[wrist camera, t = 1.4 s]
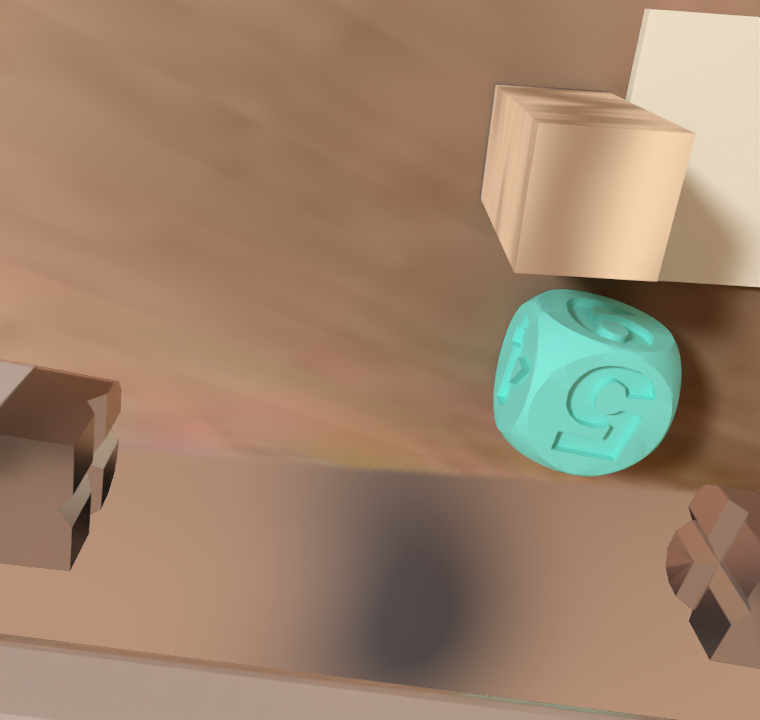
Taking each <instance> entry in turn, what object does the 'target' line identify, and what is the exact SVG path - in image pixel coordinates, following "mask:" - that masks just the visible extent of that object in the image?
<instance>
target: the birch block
mask: <svg viewBox="0 0 760 720" xmlns="http://www.w3.org/2000/svg"><path fill="white" fill-rule="evenodd" d="M695 135H696V134H695V133H693V132H691V131H689V130H687V129H685V128H683V127H681V126H679V125H677V124H675V123H672V122H670V121H668V120H666V119H664V118H662V117H660V116H658V115H656V114H654V113H652V112H649V111H647V110H645V109H643V108H641V107H639V106H637V105H635V104H633V103H631V102H628V101H626V100H624V99H622V98H620V97H618V96H616V95H614V94H612V93H610V92H606V91H591V90H577V89H563V88H548V87H534V86H520V85H505V84H495V86H494V93H493V101H492V109H491V116H490V124H489V132H488V139H487V147H486V155H485V162H484V170H483V177H482V185H481V193H480V198H481V200H482V202H483V205H484V207H485V209H486V211H487V213H488V216H489V218H490V220H491V222H492V224H493V227H494V229H495V231H496V233H497V236H498V238H499V240H500V242H501V244H502V247H503V249H504V251H505V253H506V255H507V258H508V260H509V262H510V264H511V266H512V269H513V271H514V273H527V274H543V275H559V276H575V277H590V278H606V279H622V280H638V281H654V282H657V280H658V276H659V272H660V269H661V265H662V261H663V257H664V253H665V249H666V246H667V242H668V238H669V234H670V230H671V227H672V223H673V219H674V215H675V211H676V207H677V204H678V200H679V196H680V192H681V188H682V184H683V181H684V177H685V173H686V169H687V165H688V161H689V158H690V154H691V150H692V146H693V142H694V139H695Z"/></svg>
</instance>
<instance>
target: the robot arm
mask: <svg viewBox="0 0 760 720" xmlns="http://www.w3.org/2000/svg"><path fill="white" fill-rule="evenodd" d="M120 411H121V387H120V384H119V381H114V380H109V379H104V378H99V377H93V376H88V375H83V374H78V373H73V372H67V371H62V370H57V369H52V368H47V367H38V366H37V365H33V364H27V363H20V362H14V361H8V360H1V359H0V563H3V564H11V565H20V566H28V567H37V568H46V569H55V570H64V571H70V570H71V568H72V566H73V564H74V562H75V560H76V558H77V556H78V554H79V552H80V550H81V548H82V546H83V544H84V542H85V540H86V538H87V536H88V534H89V526H90V515H91V514H93V513H95V512H97V511H99V510H101V508H102V506H103V503H104V501H105V499H106V497H107V495H108V492H109V489H110V486H111V482H112V479H113V476H114V472H115V466H116V460H117V453H118V441H119V440H118V438H117V437H116V435H115V434H114V433H113V431H112V430H111V428H112V426H113V424H114V422H115V420H116V419H117V417H118V415H119V413H120ZM689 510H690V514H691V518H692V521H690V522H689V523H687V524H685V525H684V526H682V527H681V528H679V529H678V530H676V532H675V534H674V536H673V538H672V540H671V542H670V544H669V547H668V549H667V560H666V571H667V576H668V581H669V583H670V586H671V588H672V590H673V592H674V594H675V595H676V597H678V598H679V599H680V600H681V601H682V602H684V603H685V604H686V605H687V606H688V607H689V608H691V609H692V613H691V616H690V619H689V622H690V624H691V626H692V628H693V630H694V631H695V633H696V635H697V637H698V639H699V641H700V643H701V645H702V647H703V648H704V650H705V652H706V654H707V656H708V658H709V660H711V661H716V662H722V663H728V664H734V665H740V666H746V667H753V668H758V669H760V492H757V491H750V490H743V489H736V488H729V487H722V486H715V485H708V484H705V485H704V486H703V487H702V488H701V489H700V490H699V491H697V492H696V494H695V496H694V498H693V499H692V501H691V503H690V505H689ZM0 720H675V719H667V718H659V717H651V716H644V715H636V714H628V713H620V712H612V711H604V710H596V709H588V708H580V707H572V706H564V705H556V704H548V703H540V702H532V701H524V700H516V699H508V698H500V697H493V696H485V695H477V694H469V693H461V692H453V691H445V690H437V689H430V688H422V687H414V686H406V685H399V684H391V683H382V682H375V681H367V680H359V679H351V678H343V677H336V676H327V675H320V674H312V673H304V672H297V671H288V670H281V669H273V668H265V667H257V666H250V665H241V664H234V663H226V662H218V661H210V660H203V659H195V658H186V657H179V656H171V655H163V654H155V653H148V652H140V651H132V650H124V649H116V648H109V647H101V646H92V645H85V644H77V643H69V642H62V641H54V640H45V639H38V638H30V637H22V636H13V635H7V634H0Z"/></svg>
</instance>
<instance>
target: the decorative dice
mask: <svg viewBox="0 0 760 720" xmlns="http://www.w3.org/2000/svg"><path fill="white" fill-rule="evenodd" d="M681 377H682V369H681V358H680V353H679V349H678V346H677V344H676V342H675V340H674V338H673V336H672V334H671V333H670V331H669V330H668V329H667V328H666V327H665V326H664V325H662V324H661V323H660V322H659V321H657V320H656V319H654V318H653V317H651V316H649V315H648V314H646V313H644V312H642V311H640V310H638V309H636V308H634V307H632V306H629V305H627V304H625V303H622V302H620V301H617V300H614V299H611V298H608V297H605V296H601V295H597V294H593V293H589V292H584V291H578V290H569V289H556V290H549V291H546V292H544V293H542V294H539V295H537V296H535V297H533V298H532V299H530V300H528V301H527V302H525V303H524V304H523V305H521V306H520V308H519V309H518V310H517V312H516V313H515V315H514V317H513V319H512V321H511V323H510V325H509V327H508V330H507V332H506V335H505V338H504V341H503V345H502V348H501V352H500V356H499V360H498V365H497V371H496V377H495V385H494V416H495V422H496V425H497V427H498V429H499V430H500V432H501V433H502V435H503V436H504V438H505V439H506V440H507V441H508V442H509V443H510V444H511V445H512V446H513V447H514V448H515V449H516V450H518V451H519V452H520V453H522V454H523V455H525V456H526V457H528V458H530V459H531V460H533V461H535V462H537V463H539V464H541V465H543V466H546V467H548V468H551V469H553V470H556V471H560V472H563V473H567V474H572V475H577V476H601V475H606V474H610V473H615V472H617V471H620V470H623V469H626V468H628V467H630V466H632V465H634V464H636V463H637V462H639V461H641V460H642V459H644V458H645V457H646V456H648V455H649V454H650V453H651V452H653V451H654V450H655V449H656V448H657V447H658V445H659V444H660V443H661V442H662V440H663V439H664V437H665V435H666V434H667V432H668V430H669V428H670V425H671V423H672V421H673V418H674V415H675V412H676V409H677V405H678V401H679V396H680V389H681Z"/></svg>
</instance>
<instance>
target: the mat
mask: <svg viewBox="0 0 760 720" xmlns="http://www.w3.org/2000/svg"><path fill="white" fill-rule="evenodd" d="M626 101H628V102H631V103H633V104H635V105H637V106H639V107H641V108H643V109H645V110H647V111H649V112H652V113H654V114H656V115H658V116H660V117H662V118H664V119H666V120H668V121H670V122H672V123H675V124H677V125H679V126H681V127H683V128H685V129H687V130H689V131H691V132H693V133H695V134H696V135H695V139H694V142H693V146H692V150H691V154H690V158H689V161H688V165H687V169H686V173H685V177H684V181H683V184H682V188H681V192H680V196H679V200H678V204H677V207H676V211H675V215H674V219H673V223H672V227H671V230H670V234H669V238H668V242H667V246H666V249H665V253H664V257H663V261H662V265H661V269H660V272H659V276H658V280H657V281H671V282H687V283H702V284H718V285H734V286H750V287H760V17H751V16H738V15H724V14H710V13H696V12H683V11H669V10H655V9H645V10H644V15H643V20H642V25H641V29H640V34H639V39H638V43H637V48H636V53H635V57H634V62H633V67H632V72H631V76H630V81H629V86H628V90H627V95H626Z"/></svg>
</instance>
